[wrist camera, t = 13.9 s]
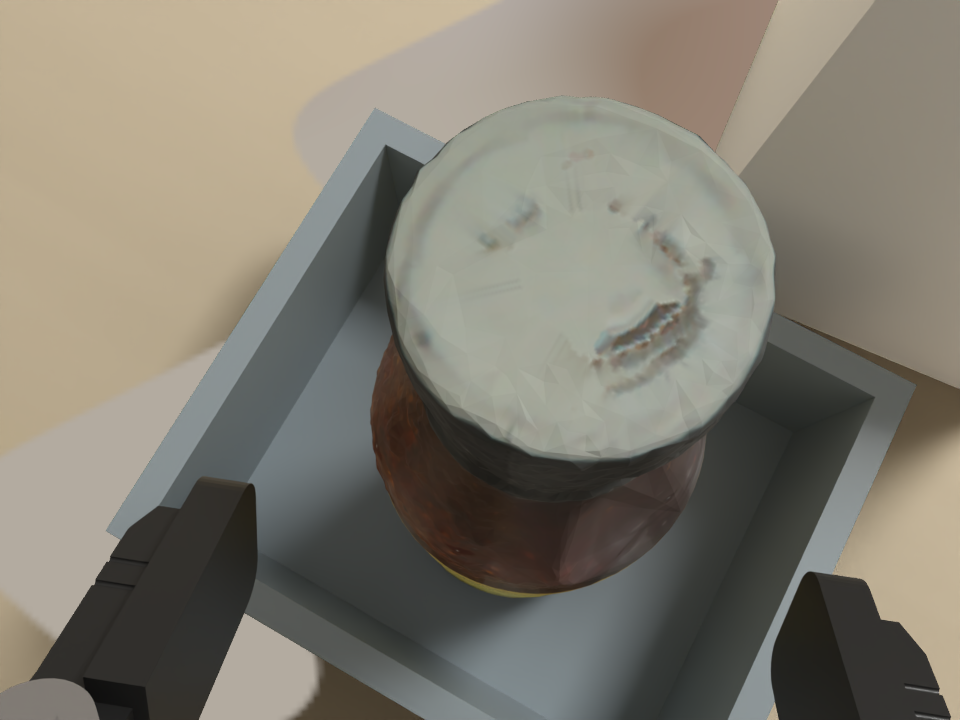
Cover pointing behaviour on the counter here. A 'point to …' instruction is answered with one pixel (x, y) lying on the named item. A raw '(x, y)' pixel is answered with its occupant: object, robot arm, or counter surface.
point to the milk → (860, 172)
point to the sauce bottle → (563, 339)
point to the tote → (456, 605)
